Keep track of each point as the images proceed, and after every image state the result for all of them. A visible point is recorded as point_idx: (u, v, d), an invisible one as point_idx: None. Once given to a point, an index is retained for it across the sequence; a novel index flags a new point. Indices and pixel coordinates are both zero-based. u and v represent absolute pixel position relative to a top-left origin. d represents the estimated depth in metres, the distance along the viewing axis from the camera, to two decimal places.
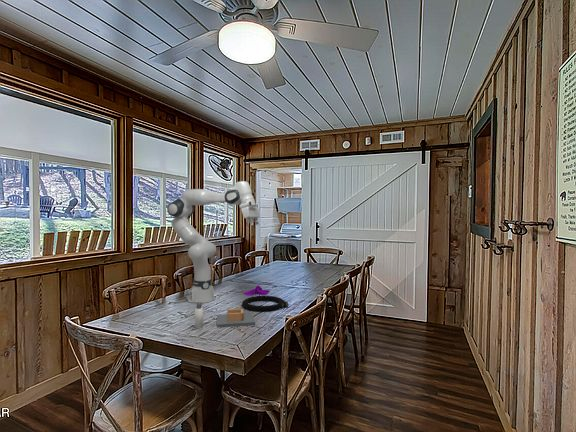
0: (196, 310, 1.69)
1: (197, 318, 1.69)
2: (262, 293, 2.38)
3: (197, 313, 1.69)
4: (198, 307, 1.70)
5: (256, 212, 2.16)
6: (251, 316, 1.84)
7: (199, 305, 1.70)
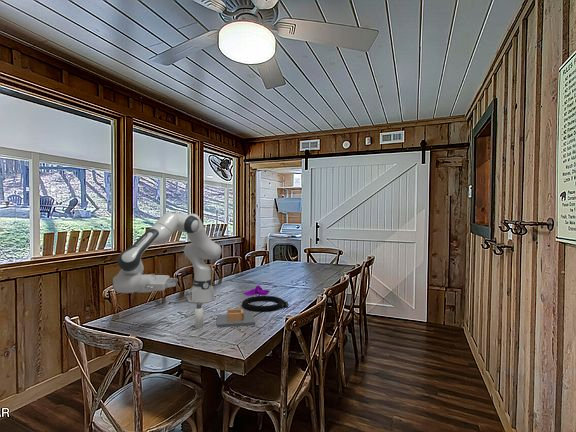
0: (196, 310, 1.69)
1: (197, 318, 1.69)
2: (262, 293, 2.38)
3: (197, 313, 1.69)
4: (198, 307, 1.70)
5: None
6: (251, 316, 1.84)
7: (199, 305, 1.70)
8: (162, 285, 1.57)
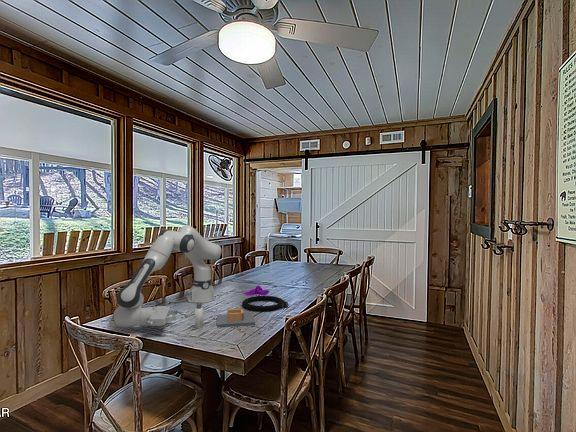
0: (196, 310, 1.69)
1: (197, 318, 1.69)
2: (262, 293, 2.38)
3: (197, 313, 1.69)
4: (198, 307, 1.70)
5: None
6: (251, 316, 1.84)
7: (199, 305, 1.70)
8: (163, 320, 1.58)
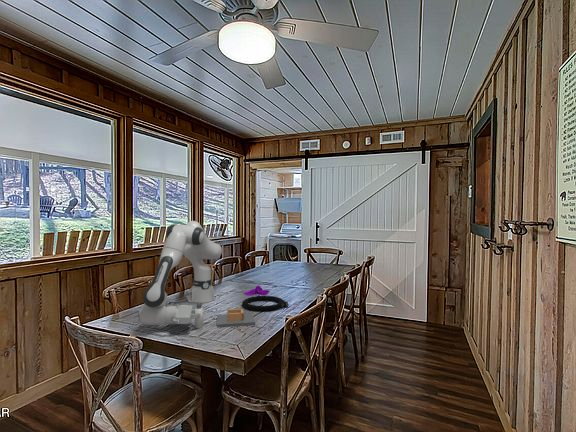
0: (196, 310, 1.69)
1: (197, 318, 1.69)
2: (262, 293, 2.38)
3: None
4: (198, 307, 1.70)
5: None
6: (251, 316, 1.84)
7: (199, 305, 1.70)
8: (188, 318, 1.60)
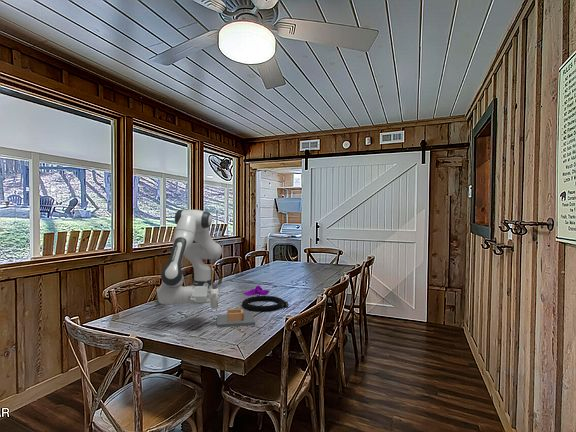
0: (212, 290, 1.73)
1: (213, 298, 1.73)
2: (262, 293, 2.38)
3: None
4: (214, 287, 1.74)
5: None
6: (251, 316, 1.84)
7: (215, 285, 1.74)
8: (204, 297, 1.64)
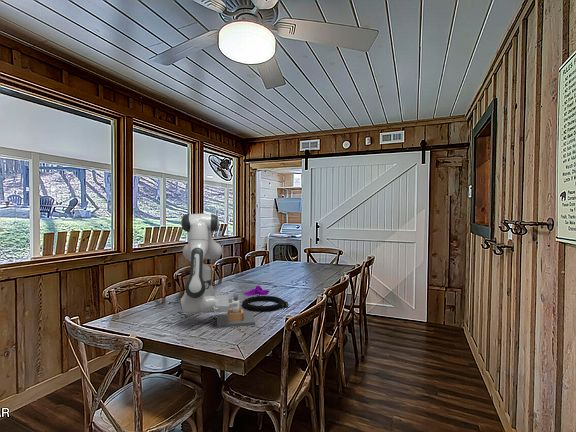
0: (233, 302, 1.79)
1: (234, 310, 1.79)
2: (262, 293, 2.38)
3: None
4: (235, 299, 1.80)
5: None
6: (251, 316, 1.84)
7: (236, 297, 1.80)
8: (227, 307, 1.70)
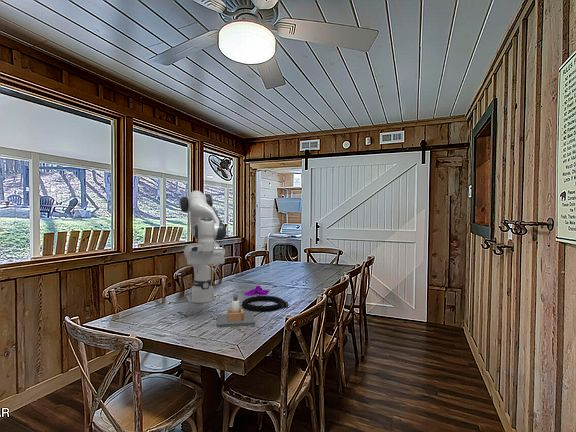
0: (233, 302, 1.79)
1: (234, 310, 1.79)
2: (262, 293, 2.38)
3: (234, 305, 1.79)
4: (235, 299, 1.80)
5: (215, 258, 1.78)
6: (251, 316, 1.84)
7: (236, 297, 1.80)
8: None
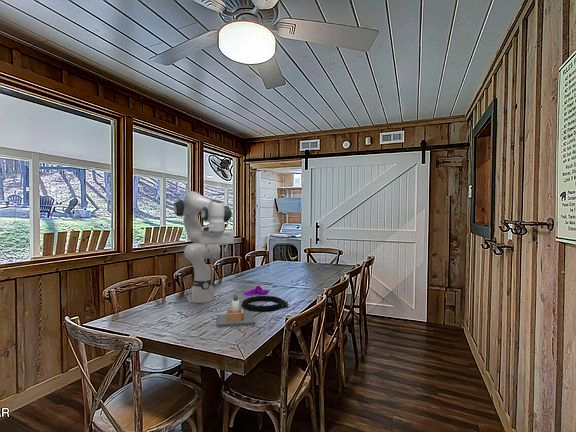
0: (233, 302, 1.79)
1: (234, 310, 1.79)
2: (262, 293, 2.38)
3: (234, 305, 1.79)
4: (235, 299, 1.80)
5: (225, 238, 1.89)
6: (251, 316, 1.84)
7: (236, 297, 1.80)
8: None
